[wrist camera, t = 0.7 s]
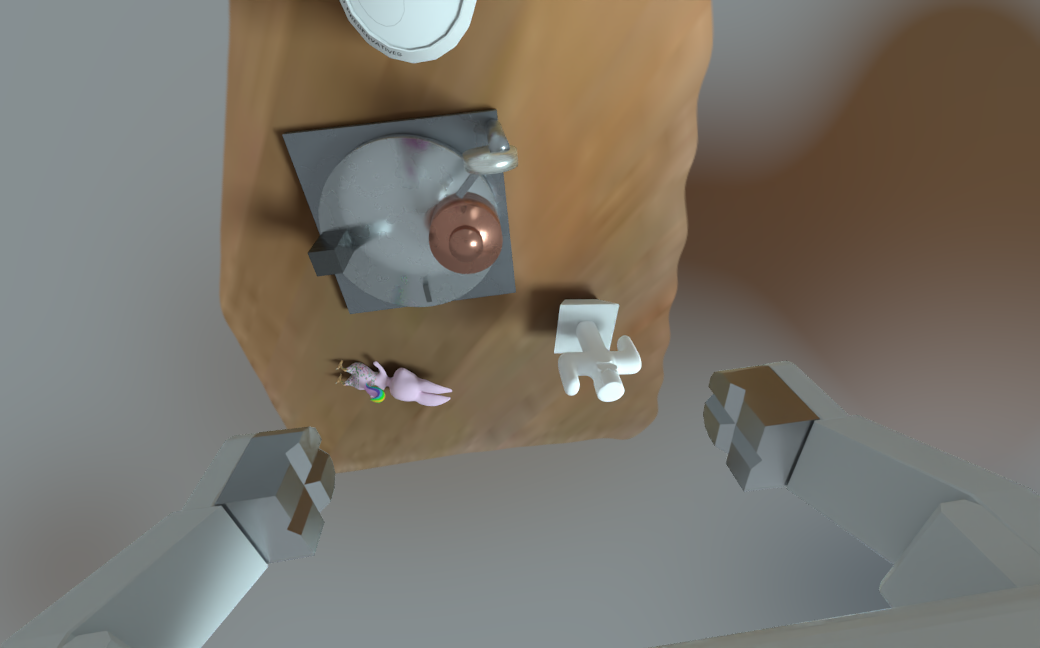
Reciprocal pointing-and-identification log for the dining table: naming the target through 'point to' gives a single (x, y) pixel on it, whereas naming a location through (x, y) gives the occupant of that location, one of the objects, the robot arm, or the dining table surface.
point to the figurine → (593, 347)
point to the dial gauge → (488, 156)
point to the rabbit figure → (394, 384)
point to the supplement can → (410, 25)
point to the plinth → (330, 146)
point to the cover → (465, 233)
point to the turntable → (392, 220)
